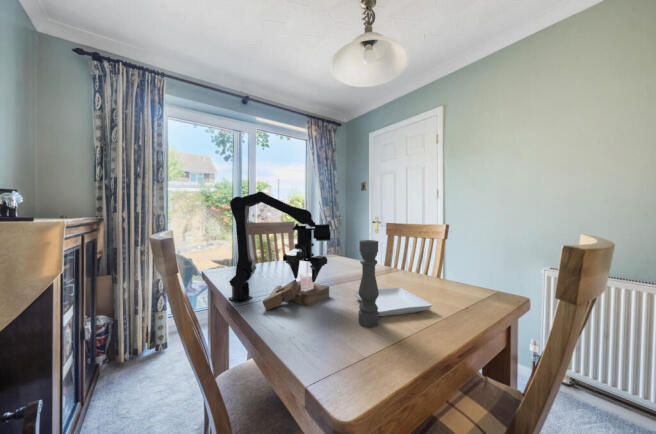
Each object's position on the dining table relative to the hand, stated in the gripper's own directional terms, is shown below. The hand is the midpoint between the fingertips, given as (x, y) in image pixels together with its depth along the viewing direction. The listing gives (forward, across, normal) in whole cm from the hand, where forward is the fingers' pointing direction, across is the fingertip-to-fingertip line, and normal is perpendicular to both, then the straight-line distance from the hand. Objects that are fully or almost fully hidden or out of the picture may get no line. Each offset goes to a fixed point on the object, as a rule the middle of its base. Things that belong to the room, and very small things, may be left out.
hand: (304, 280), depth 98 cm
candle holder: (+7, +31, -6) cm, 32 cm away
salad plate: (+7, +31, +11) cm, 34 cm away
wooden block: (+3, +2, -16) cm, 16 cm away
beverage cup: (+7, +1, +1) cm, 7 cm away
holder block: (+7, 0, 0) cm, 7 cm away
